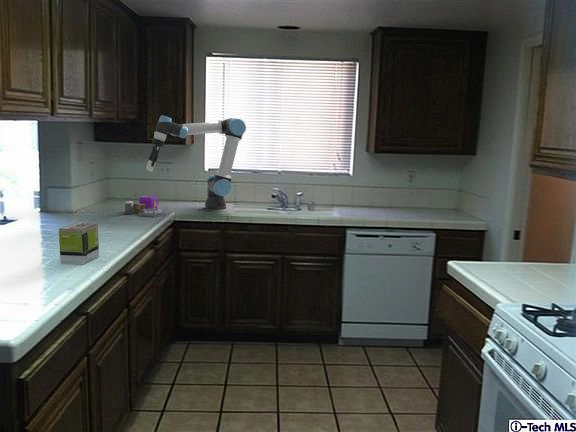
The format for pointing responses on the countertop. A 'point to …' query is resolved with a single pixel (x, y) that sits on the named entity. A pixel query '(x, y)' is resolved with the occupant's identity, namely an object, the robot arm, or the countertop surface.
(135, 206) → the stop bar
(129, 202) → the lens
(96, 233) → the tea box
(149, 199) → the toy camera
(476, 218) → the countertop surface
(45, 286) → the countertop surface
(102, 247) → the countertop surface
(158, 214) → the mount
